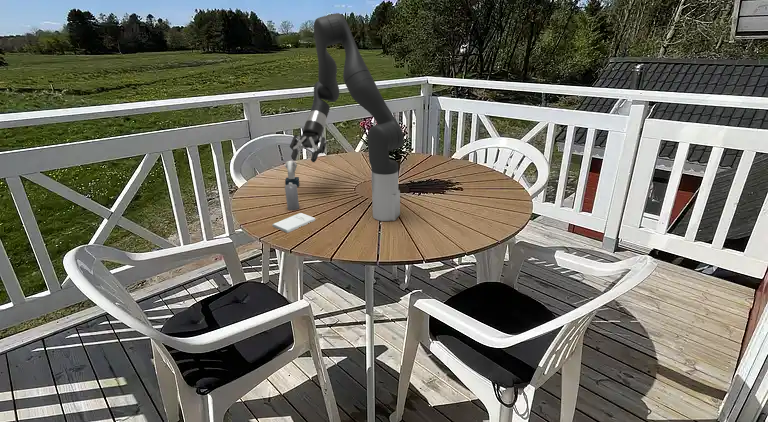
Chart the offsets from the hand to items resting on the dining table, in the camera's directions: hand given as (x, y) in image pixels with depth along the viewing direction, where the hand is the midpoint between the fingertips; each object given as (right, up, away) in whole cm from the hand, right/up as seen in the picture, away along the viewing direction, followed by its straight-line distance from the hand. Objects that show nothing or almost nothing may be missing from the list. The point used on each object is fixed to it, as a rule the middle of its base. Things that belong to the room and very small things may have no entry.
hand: (302, 160), depth 152 cm
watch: (-9, -9, +21) cm, 25 cm away
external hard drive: (0, -25, -14) cm, 28 cm away
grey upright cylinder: (-3, -19, -2) cm, 19 cm away
